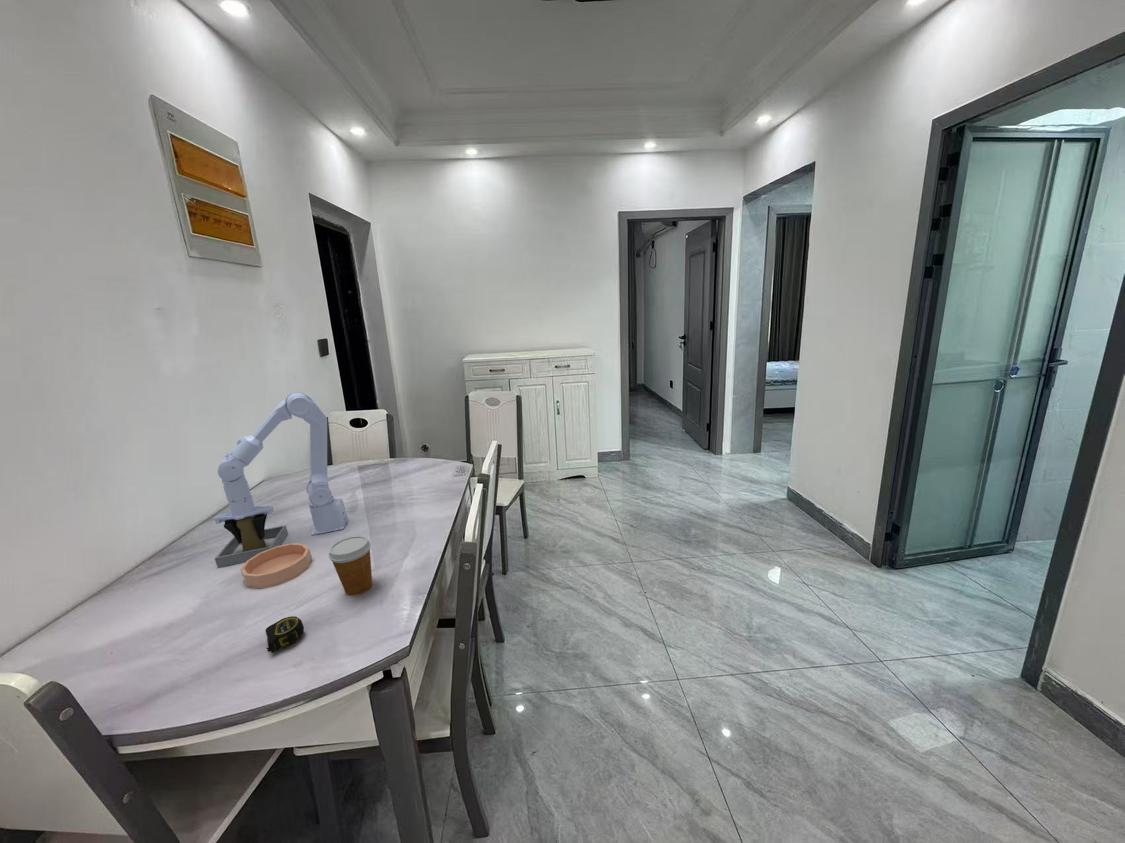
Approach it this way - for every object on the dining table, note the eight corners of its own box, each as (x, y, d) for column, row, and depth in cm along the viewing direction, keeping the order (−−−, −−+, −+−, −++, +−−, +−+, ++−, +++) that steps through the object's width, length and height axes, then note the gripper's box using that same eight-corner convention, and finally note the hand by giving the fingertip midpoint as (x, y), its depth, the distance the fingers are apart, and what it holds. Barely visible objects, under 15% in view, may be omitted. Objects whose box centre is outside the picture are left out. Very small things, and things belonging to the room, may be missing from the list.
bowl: (316, 549, 134) (314, 538, 133) (302, 579, 119) (299, 567, 118) (257, 561, 130) (254, 550, 129) (235, 593, 115) (231, 581, 114)
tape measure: (268, 639, 98) (263, 624, 97) (303, 624, 102) (299, 610, 101) (269, 658, 93) (264, 642, 92) (307, 642, 96) (302, 627, 95)
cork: (255, 555, 133) (244, 521, 131) (238, 554, 135) (227, 521, 132) (271, 544, 139) (262, 511, 136) (255, 544, 140) (245, 511, 137)
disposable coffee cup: (338, 583, 116) (328, 541, 113) (378, 572, 119) (369, 531, 116) (337, 605, 107) (325, 560, 104) (380, 592, 111) (370, 548, 107)
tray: (288, 533, 145) (285, 525, 144) (273, 556, 132) (271, 547, 131) (237, 543, 142) (235, 534, 141) (217, 567, 129) (214, 558, 128)
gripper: (204, 508, 127) (218, 551, 131) (262, 498, 130) (274, 540, 134) (215, 498, 134) (228, 539, 137) (270, 489, 137) (282, 529, 141)
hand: (252, 539), depth 136 cm, fingers closed on cork, 5 cm apart
